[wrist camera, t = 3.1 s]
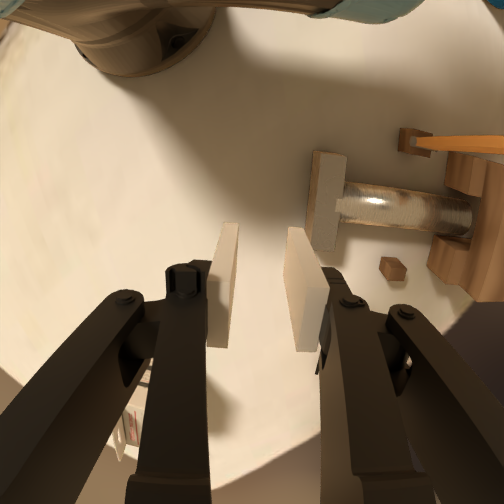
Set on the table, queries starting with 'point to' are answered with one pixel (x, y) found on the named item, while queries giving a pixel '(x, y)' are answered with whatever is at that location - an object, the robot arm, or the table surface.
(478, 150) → the bar
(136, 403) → the ink box
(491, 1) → the beverage can
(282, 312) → the table surface
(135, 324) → the robot arm
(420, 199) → the pin
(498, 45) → the table surface
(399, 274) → the hitch block
